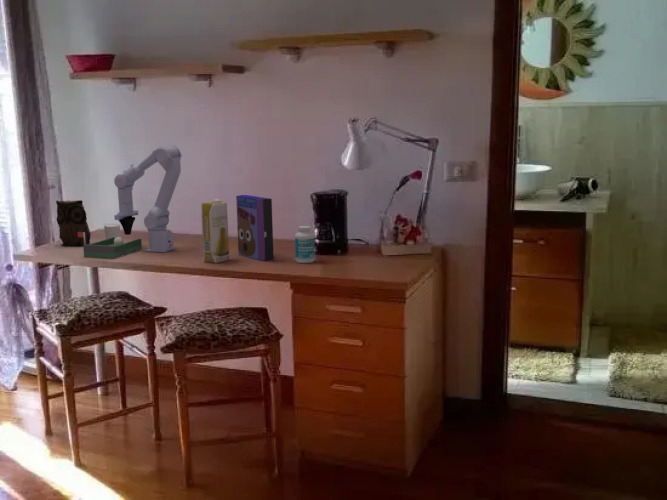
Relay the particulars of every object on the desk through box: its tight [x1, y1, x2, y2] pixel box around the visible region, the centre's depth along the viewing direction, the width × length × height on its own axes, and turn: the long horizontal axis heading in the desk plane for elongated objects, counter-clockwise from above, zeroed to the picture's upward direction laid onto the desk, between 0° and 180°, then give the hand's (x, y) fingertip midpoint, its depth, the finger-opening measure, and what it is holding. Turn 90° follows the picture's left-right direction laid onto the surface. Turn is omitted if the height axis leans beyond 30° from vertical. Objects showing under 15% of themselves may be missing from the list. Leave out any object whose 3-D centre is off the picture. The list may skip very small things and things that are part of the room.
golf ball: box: [114, 236, 125, 246], centre depth 315 cm, size 4×4×4 cm
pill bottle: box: [294, 225, 316, 264], centre depth 287 cm, size 8×7×14 cm
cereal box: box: [235, 194, 274, 262], centre depth 296 cm, size 17×5×24 cm, turn 40°
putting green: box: [78, 232, 143, 260], centre depth 311 cm, size 16×20×10 cm
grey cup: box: [103, 224, 121, 240], centre depth 339 cm, size 7×7×7 cm
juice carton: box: [200, 198, 230, 264], centre depth 291 cm, size 9×8×24 cm
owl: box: [55, 199, 92, 248], centre depth 329 cm, size 13×13×20 cm
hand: (127, 234), depth 321 cm, fingers closed
